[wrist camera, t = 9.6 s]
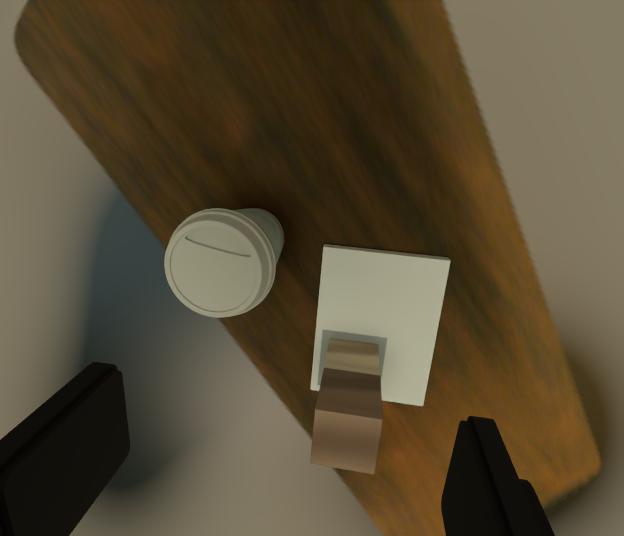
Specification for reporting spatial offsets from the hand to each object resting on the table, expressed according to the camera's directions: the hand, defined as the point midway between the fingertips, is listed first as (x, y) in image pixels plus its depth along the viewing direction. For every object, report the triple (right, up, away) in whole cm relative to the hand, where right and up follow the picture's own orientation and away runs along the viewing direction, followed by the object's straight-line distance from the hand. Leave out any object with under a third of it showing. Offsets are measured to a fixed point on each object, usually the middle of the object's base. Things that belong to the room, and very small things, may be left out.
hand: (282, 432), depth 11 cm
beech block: (+5, -5, +31) cm, 32 cm away
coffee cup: (-5, +8, +30) cm, 31 cm away
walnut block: (+4, -7, +25) cm, 26 cm away
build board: (+7, -1, +31) cm, 31 cm away
